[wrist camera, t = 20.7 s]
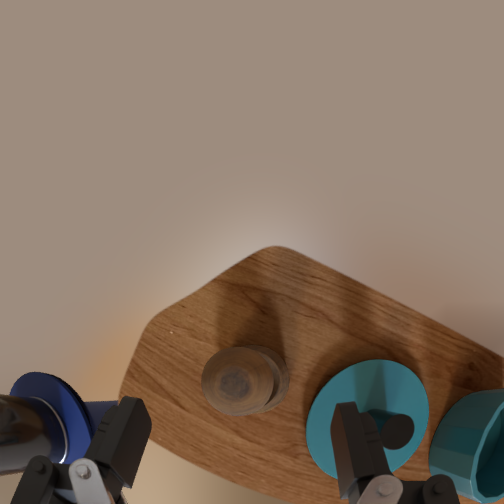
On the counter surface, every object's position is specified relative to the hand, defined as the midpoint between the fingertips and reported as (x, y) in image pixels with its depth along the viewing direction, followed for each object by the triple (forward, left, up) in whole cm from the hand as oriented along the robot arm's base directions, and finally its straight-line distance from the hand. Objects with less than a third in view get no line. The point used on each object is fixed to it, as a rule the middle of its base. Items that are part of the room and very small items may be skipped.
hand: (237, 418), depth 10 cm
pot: (+21, -18, -17) cm, 32 cm away
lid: (+10, -8, -16) cm, 20 cm away
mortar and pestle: (+1, +2, -17) cm, 17 cm away
